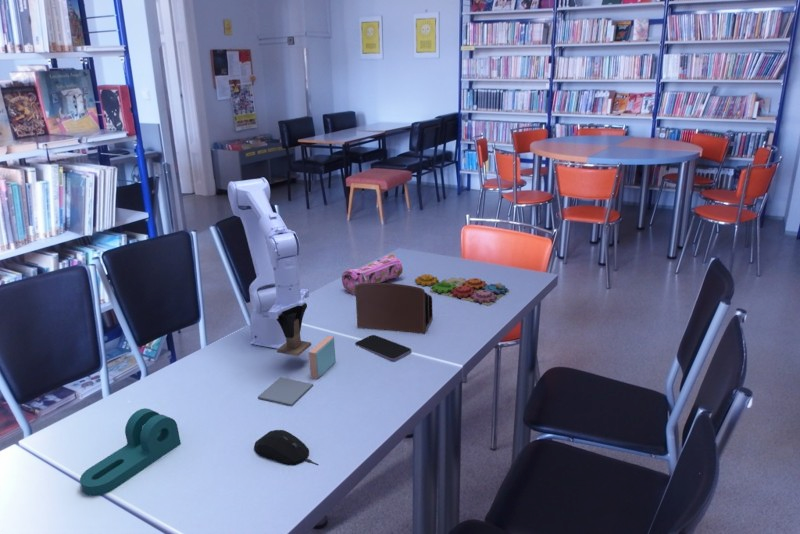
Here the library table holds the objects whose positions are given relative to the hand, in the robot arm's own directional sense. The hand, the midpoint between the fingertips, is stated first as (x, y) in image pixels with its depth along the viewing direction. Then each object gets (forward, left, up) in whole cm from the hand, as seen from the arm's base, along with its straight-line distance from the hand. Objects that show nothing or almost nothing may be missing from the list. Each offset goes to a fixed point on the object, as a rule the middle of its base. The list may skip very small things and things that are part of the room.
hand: (292, 334), depth 143 cm
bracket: (-9, -44, -9) cm, 46 cm away
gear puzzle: (+23, +61, -9) cm, 66 cm away
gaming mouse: (+18, -31, -9) cm, 36 cm away
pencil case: (-4, +54, -9) cm, 55 cm away
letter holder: (+14, +30, -9) cm, 34 cm away
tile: (+8, 0, -8) cm, 12 cm away
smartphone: (+17, +15, -9) cm, 24 cm away
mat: (+5, -12, -8) cm, 15 cm away
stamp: (0, 0, -4) cm, 4 cm away
